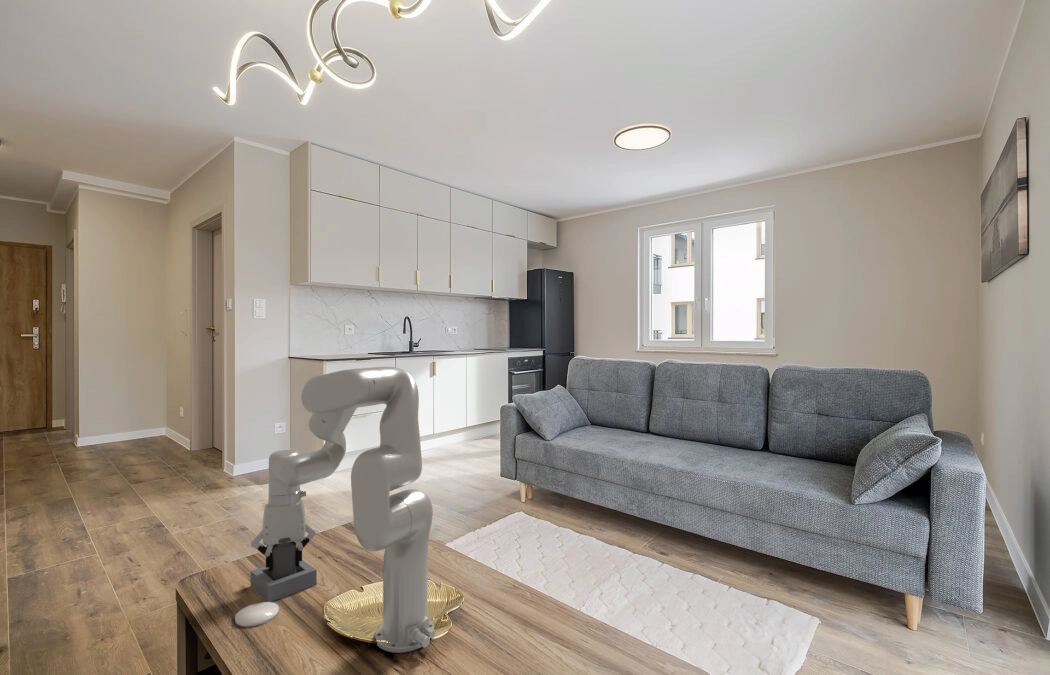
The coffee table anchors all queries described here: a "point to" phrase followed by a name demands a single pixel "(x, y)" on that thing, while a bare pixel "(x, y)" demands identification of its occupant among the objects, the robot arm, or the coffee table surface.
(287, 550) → the bottle
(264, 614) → the white round part
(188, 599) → the coffee table surface
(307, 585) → the square frame
